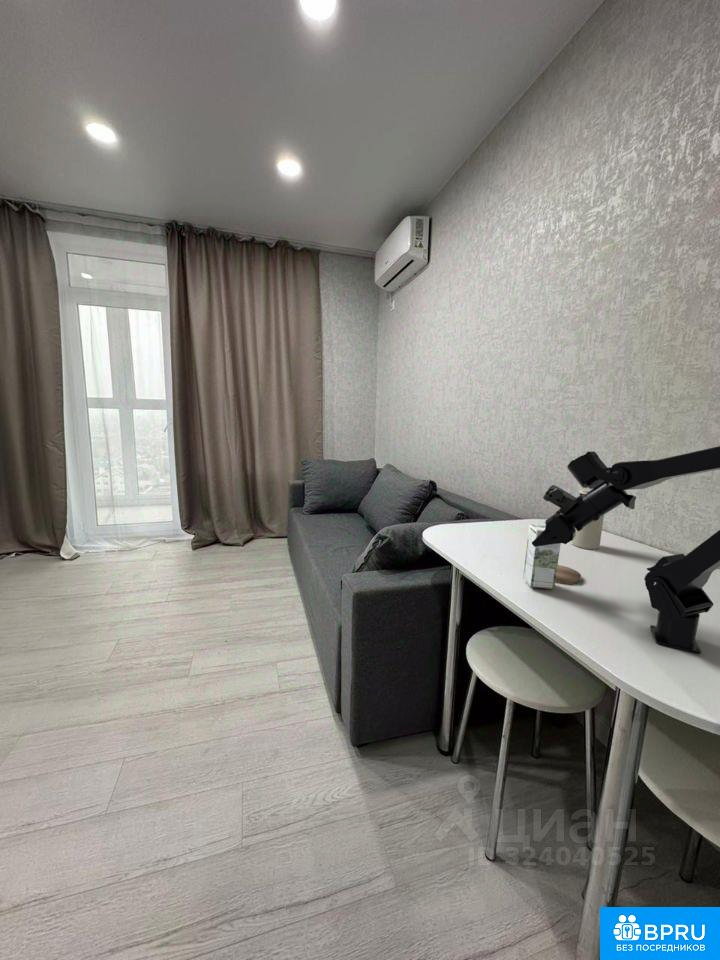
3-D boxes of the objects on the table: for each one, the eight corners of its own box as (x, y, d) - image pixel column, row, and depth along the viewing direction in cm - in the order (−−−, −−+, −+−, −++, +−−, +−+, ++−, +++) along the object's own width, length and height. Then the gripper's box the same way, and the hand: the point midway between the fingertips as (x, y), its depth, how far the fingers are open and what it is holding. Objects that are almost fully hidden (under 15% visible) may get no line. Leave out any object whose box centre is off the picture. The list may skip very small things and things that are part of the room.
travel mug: (594, 551, 120) (602, 495, 117) (567, 545, 125) (574, 491, 122) (602, 546, 125) (610, 492, 122) (576, 540, 131) (582, 488, 128)
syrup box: (546, 580, 96) (552, 524, 94) (555, 590, 90) (562, 531, 88) (522, 578, 97) (528, 523, 95) (530, 588, 91) (536, 529, 89)
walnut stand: (581, 587, 93) (581, 582, 93) (536, 578, 98) (537, 573, 98) (579, 573, 102) (580, 568, 102) (538, 565, 107) (539, 561, 107)
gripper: (576, 471, 94) (525, 508, 103) (561, 480, 80) (503, 521, 88) (609, 507, 91) (553, 542, 99) (600, 523, 76) (536, 562, 84)
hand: (536, 540), depth 93 cm, fingers closed on syrup box, 7 cm apart
